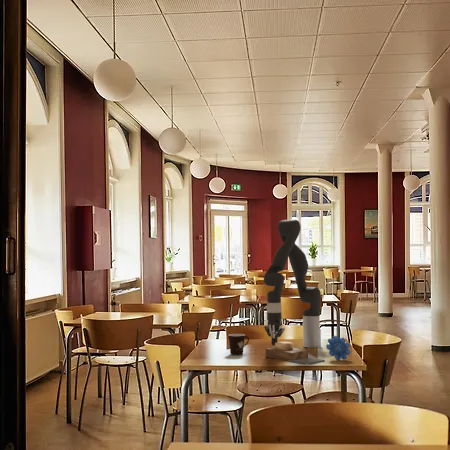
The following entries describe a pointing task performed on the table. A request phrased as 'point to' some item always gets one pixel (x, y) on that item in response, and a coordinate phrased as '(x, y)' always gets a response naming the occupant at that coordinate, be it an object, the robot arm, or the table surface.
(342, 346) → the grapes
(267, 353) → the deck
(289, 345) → the tan domed disc
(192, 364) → the table surface
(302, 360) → the slate board
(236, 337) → the coffee mug
